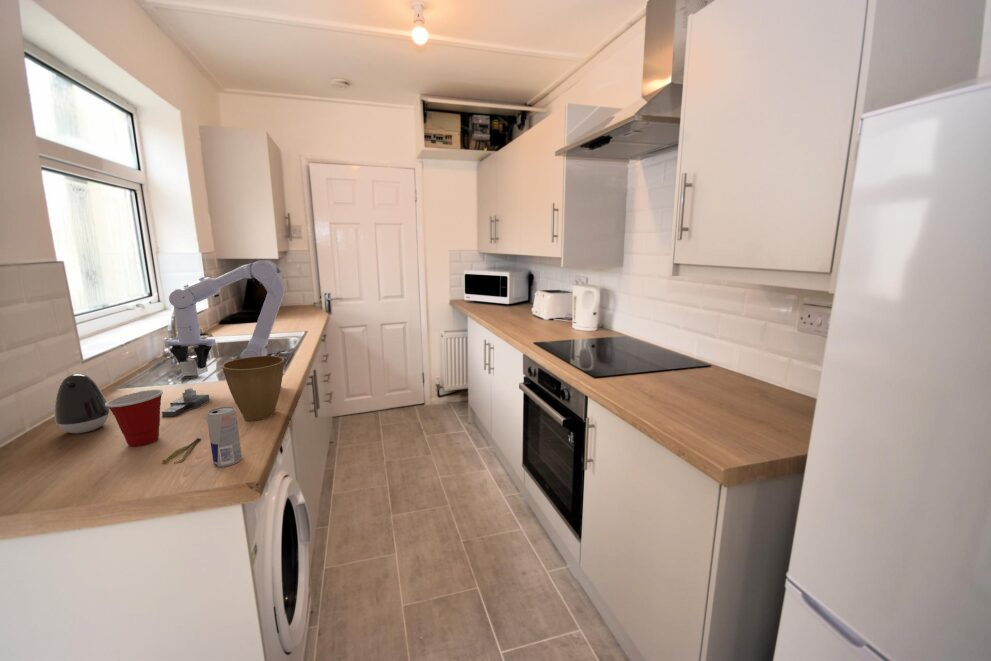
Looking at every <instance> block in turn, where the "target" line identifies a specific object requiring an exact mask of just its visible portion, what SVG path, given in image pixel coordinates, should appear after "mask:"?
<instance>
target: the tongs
mask: <svg viewBox="0 0 991 661" xmlns="http://www.w3.org/2000/svg"><path fill="white" fill-rule="evenodd" d="M200 440H201V437H200V438H196V439H194V441H192V442H191V443H190V444H187V445H185V446H183V447H181V448H177V449H176V450H174V452H173V453H171V454H169V456H168V457H166V459H163V460H162V461H161V464H163V465H168V464H169V461H170V460H172V459H173V458H175V457H176V456H178V455H179V454H181V453H183V451H185V450H186V452H184V454H183V455H182V458H181V459H179V460H176V461H174V462H173V464H174V465H176V464H181V463H182V462H183V461H184V460H185V459H186V457H187V456H188V455H189V454H190V452H191V451H192V449H193V448H194V447H195V446H196V444H197V443H198V442H199V441H200Z"/></svg>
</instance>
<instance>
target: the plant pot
mask: <svg viewBox="0 0 991 661" xmlns="http://www.w3.org/2000/svg"><path fill="white" fill-rule="evenodd" d="M284 363H285V359H284V357H282V356H276V355H275V356H274V355H267V356H256V357H247V358H240V357H239V358H236V359H233V360H228V361H227V362H225V363H223V364H222V365H221V366H222V371H223V375H224V378H225V380H226V383H227V386H228V390H229V391H230V394H231V396H232V398H233V401H234V402H235V404H236V407H237V408H238V410H239V412H240V414H241V415H242V417H243V418H244V420H247V421H251V422H252V421H253V422H254V421H262V420H266V419H268V418H270V417H272V416H273V415H274V414H275V411H276V407H277V404H278V402H279V401H278V400H279V398H280V392H281V387H282V383H283V382H282V381H283V375H284V374H283V373H284Z"/></svg>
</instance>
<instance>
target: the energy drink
mask: <svg viewBox="0 0 991 661" xmlns="http://www.w3.org/2000/svg"><path fill="white" fill-rule="evenodd" d="M237 416H238V415H237V410H236V409H235V407H234V406H231V405H230V406H221V407H214V408H213V409H210V410H208V411H207V415H206V421H207V428H208V435H209V442H210V448H211V456H212V463H213V466H215V467H217V468H224V467H230V466H232V465H235V464H237V463H239V462H240V461H241V460H242V457H243V455H242V450H241V449H242V447H241V442H240V432H239V425H238V417H237Z"/></svg>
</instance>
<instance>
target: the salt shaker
mask: <svg viewBox="0 0 991 661" xmlns="http://www.w3.org/2000/svg"><path fill="white" fill-rule="evenodd" d="M189 356H193V355H192V350H191V349H190V348H188V352H187V357H189ZM178 370H179V371H180V373H181V367H180V368H178ZM199 376H200V375H194V376H181V379H182V380H190V379H195V378H198V377H199Z"/></svg>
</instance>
